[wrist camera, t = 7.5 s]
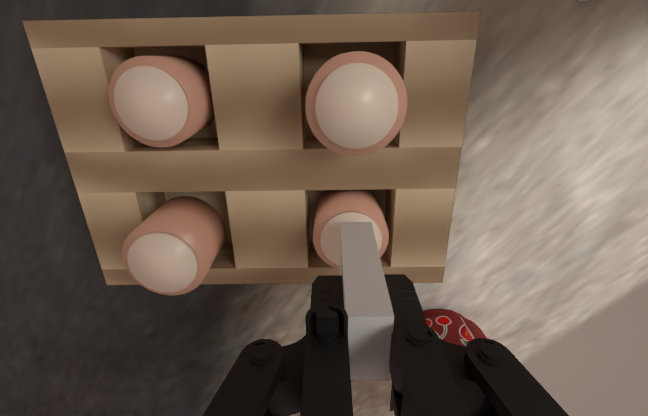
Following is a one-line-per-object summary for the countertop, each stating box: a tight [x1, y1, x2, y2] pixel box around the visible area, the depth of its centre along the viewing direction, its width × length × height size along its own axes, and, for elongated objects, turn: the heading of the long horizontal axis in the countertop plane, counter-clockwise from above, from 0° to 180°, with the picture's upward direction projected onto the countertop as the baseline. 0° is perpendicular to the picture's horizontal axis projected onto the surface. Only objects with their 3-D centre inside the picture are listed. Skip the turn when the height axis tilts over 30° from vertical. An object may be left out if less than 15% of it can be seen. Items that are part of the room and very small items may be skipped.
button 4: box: [313, 190, 389, 269], centre depth 20 cm, size 4×4×4 cm
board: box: [23, 11, 481, 285], centre depth 20 cm, size 14×20×4 cm
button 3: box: [305, 51, 407, 156], centre depth 15 cm, size 4×4×4 cm
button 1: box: [108, 56, 215, 148], centre depth 17 cm, size 4×4×4 cm
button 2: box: [122, 196, 226, 295], centre depth 18 cm, size 4×4×4 cm
